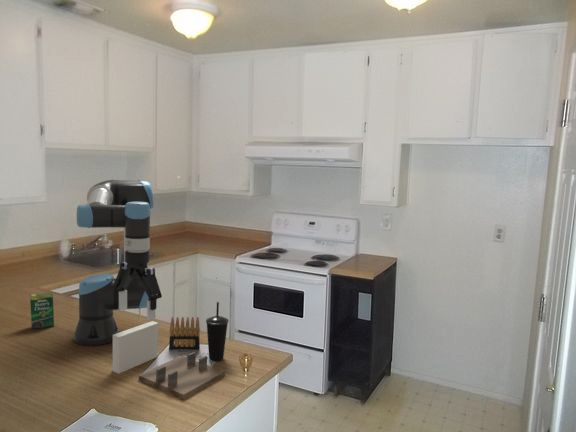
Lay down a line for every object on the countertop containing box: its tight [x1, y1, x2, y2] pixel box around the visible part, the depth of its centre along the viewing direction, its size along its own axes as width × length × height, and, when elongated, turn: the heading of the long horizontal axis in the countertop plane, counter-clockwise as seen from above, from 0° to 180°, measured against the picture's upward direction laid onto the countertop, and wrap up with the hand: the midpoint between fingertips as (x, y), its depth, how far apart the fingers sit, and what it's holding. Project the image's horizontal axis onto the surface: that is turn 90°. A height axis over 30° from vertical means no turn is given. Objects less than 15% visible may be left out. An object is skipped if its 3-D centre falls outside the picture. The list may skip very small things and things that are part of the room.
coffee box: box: [29, 292, 55, 330], centre depth 177 cm, size 8×3×13 cm, turn 116°
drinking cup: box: [205, 301, 229, 362], centre depth 156 cm, size 8×8×20 cm
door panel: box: [112, 320, 159, 374], centre depth 150 cm, size 3×16×12 cm, turn 148°
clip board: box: [138, 351, 226, 400], centre depth 142 cm, size 19×18×5 cm
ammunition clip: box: [168, 316, 201, 351], centre depth 163 cm, size 11×2×12 cm, turn 97°
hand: (136, 314), depth 148 cm, fingers open, 13 cm apart
